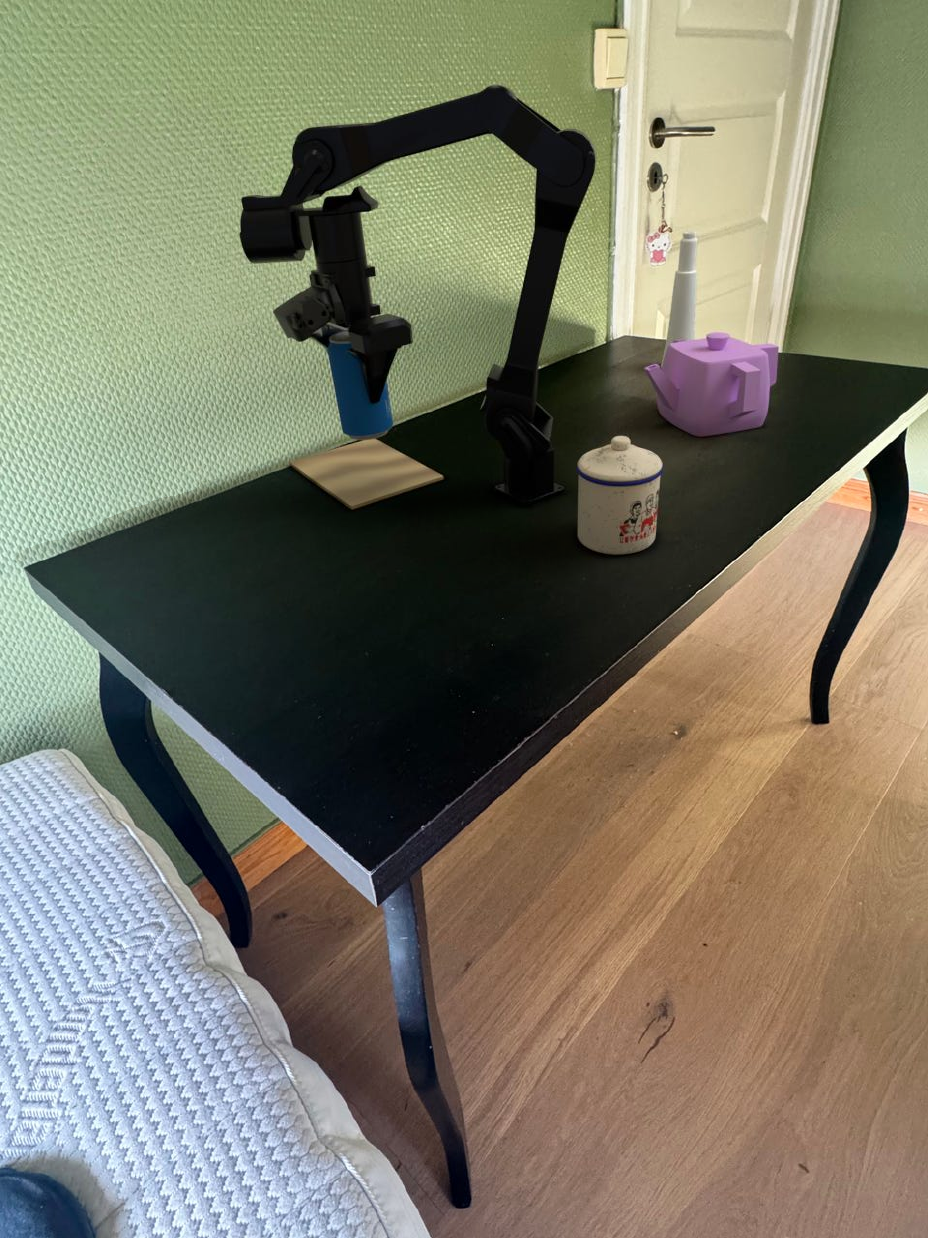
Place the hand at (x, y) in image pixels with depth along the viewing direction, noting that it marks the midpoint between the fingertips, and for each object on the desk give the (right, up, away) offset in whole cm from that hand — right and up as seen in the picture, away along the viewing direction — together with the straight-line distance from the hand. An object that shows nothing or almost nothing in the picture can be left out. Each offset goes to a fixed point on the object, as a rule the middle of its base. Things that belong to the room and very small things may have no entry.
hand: (361, 396), depth 94 cm
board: (-1, -7, +13) cm, 15 cm away
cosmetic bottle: (+51, +18, +44) cm, 70 cm away
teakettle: (+49, +3, +22) cm, 54 cm away
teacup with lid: (+31, -18, -7) cm, 36 cm away
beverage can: (+1, -4, +3) cm, 5 cm away
